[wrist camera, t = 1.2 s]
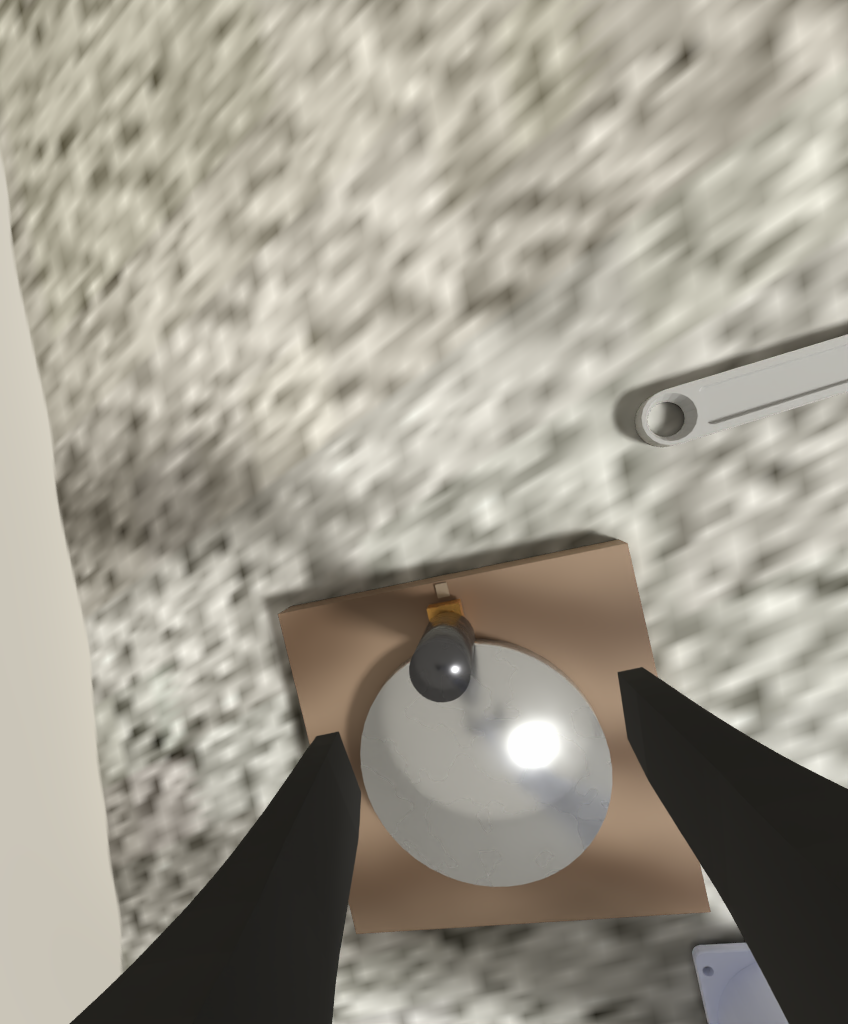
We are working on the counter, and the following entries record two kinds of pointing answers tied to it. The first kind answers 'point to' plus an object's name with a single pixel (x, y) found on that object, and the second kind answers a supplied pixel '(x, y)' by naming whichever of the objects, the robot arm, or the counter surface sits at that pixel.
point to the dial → (485, 758)
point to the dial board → (568, 645)
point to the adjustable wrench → (752, 391)
